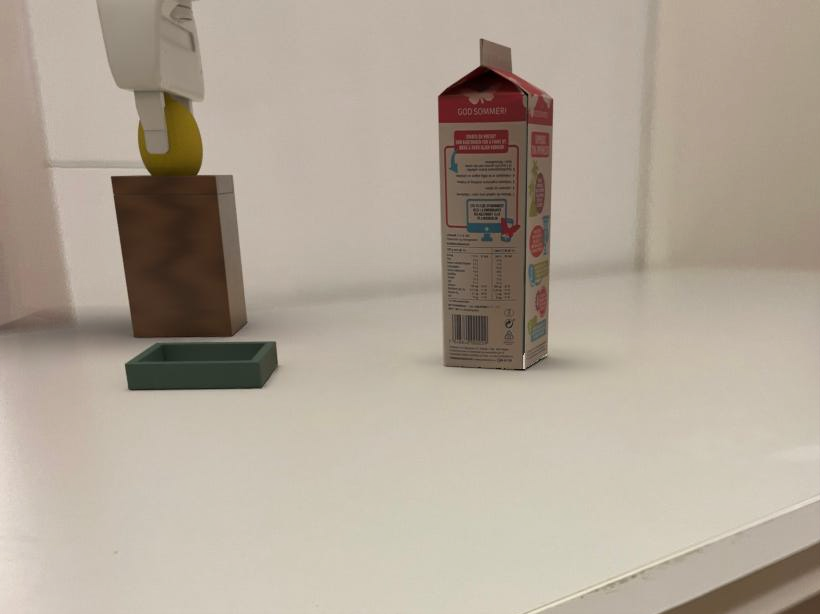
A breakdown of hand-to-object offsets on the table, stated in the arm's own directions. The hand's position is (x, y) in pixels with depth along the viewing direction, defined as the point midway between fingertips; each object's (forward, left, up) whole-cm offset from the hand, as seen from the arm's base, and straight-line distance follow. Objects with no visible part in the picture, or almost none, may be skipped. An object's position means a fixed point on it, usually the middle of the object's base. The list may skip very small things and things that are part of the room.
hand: (171, 154), depth 91 cm
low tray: (+6, -24, -15) cm, 29 cm away
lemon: (0, 0, -3) cm, 3 cm away
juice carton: (+28, -19, -15) cm, 37 cm away
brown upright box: (0, 0, -15) cm, 15 cm away
